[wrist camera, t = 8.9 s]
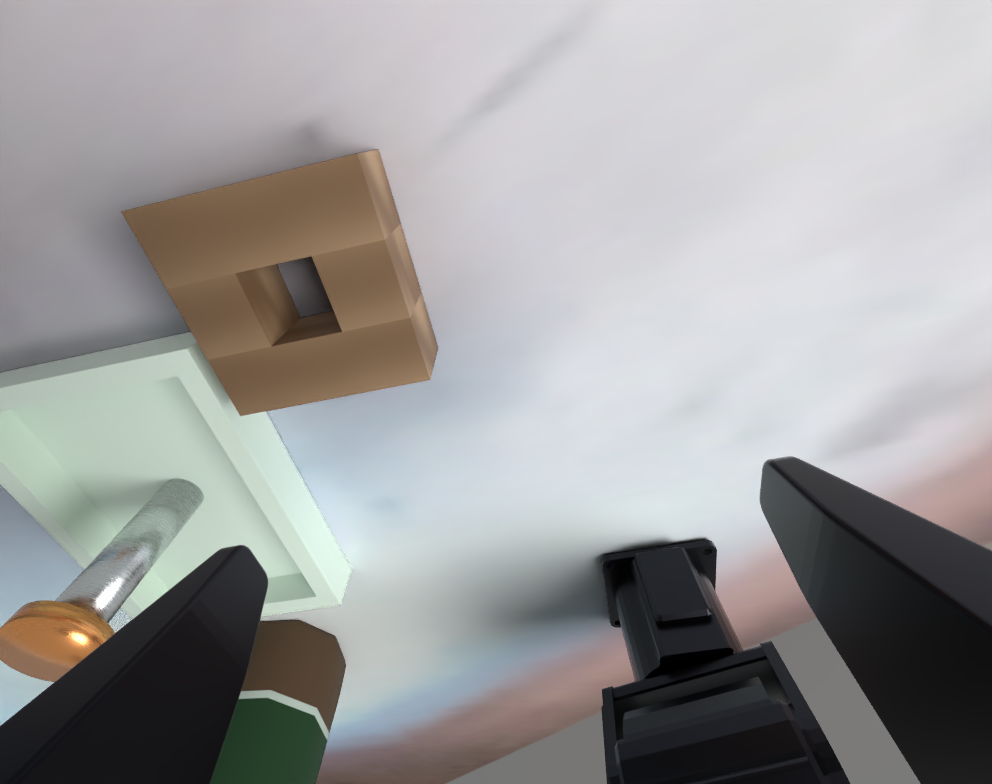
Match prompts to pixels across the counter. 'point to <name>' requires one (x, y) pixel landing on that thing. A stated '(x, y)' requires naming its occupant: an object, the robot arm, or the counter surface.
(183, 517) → the pin
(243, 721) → the beer bottle
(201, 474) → the tray
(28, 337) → the counter surface
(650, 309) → the counter surface
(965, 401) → the counter surface
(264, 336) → the block
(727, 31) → the counter surface
